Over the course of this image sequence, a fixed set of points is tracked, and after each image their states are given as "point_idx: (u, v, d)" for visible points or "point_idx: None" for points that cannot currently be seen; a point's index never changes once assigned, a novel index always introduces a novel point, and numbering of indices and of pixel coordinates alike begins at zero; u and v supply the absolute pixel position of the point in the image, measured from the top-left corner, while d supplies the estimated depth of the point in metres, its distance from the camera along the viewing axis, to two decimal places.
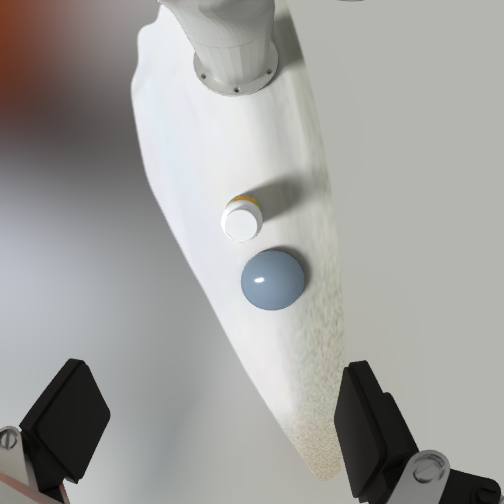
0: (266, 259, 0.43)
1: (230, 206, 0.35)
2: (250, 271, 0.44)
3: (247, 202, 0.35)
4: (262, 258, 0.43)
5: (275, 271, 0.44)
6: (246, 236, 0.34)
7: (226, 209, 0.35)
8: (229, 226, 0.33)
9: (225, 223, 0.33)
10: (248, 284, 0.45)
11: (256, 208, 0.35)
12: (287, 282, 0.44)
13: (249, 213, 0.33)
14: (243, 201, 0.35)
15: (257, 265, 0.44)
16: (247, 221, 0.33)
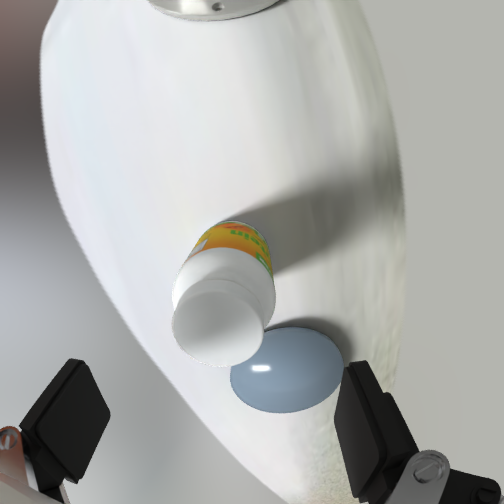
0: (278, 345, 0.21)
1: (191, 268, 0.13)
2: (247, 363, 0.22)
3: (236, 257, 0.13)
4: (270, 344, 0.21)
5: (294, 362, 0.22)
6: (233, 356, 0.12)
7: (182, 274, 0.13)
8: (186, 332, 0.12)
9: (174, 324, 0.11)
10: (243, 382, 0.23)
11: (260, 272, 0.13)
12: (314, 377, 0.23)
13: (240, 301, 0.11)
14: (225, 254, 0.13)
15: (260, 355, 0.22)
16: (236, 322, 0.11)
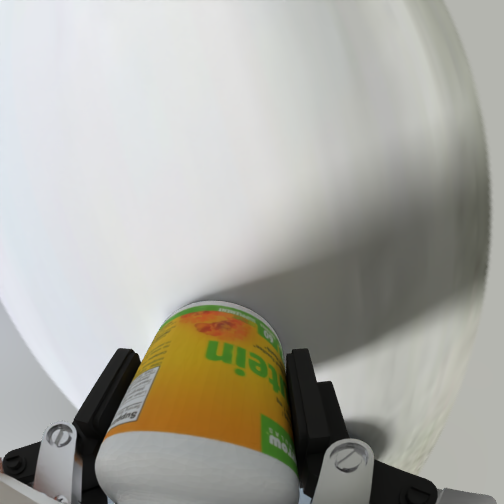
0: None
1: (114, 471, 0.04)
2: None
3: (212, 471, 0.04)
4: None
5: None
6: None
7: (101, 470, 0.04)
8: None
9: None
10: None
11: (271, 489, 0.04)
12: None
13: None
14: (185, 463, 0.04)
15: None
16: None
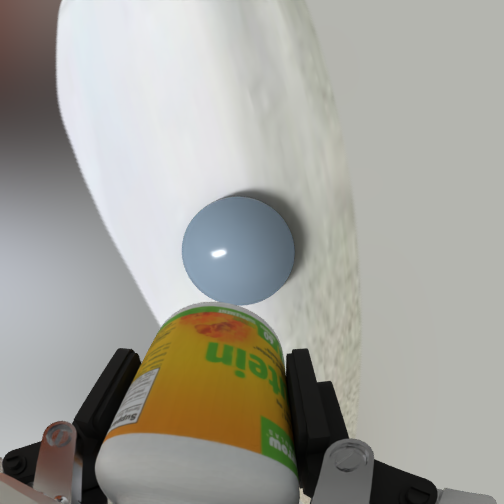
0: (224, 210, 0.24)
1: (114, 473, 0.04)
2: (197, 233, 0.24)
3: (212, 473, 0.04)
4: (216, 209, 0.24)
5: (241, 233, 0.24)
6: None
7: (101, 472, 0.04)
8: None
9: None
10: (194, 258, 0.25)
11: (271, 491, 0.04)
12: (264, 254, 0.25)
13: None
14: (185, 466, 0.04)
15: (208, 222, 0.24)
16: None
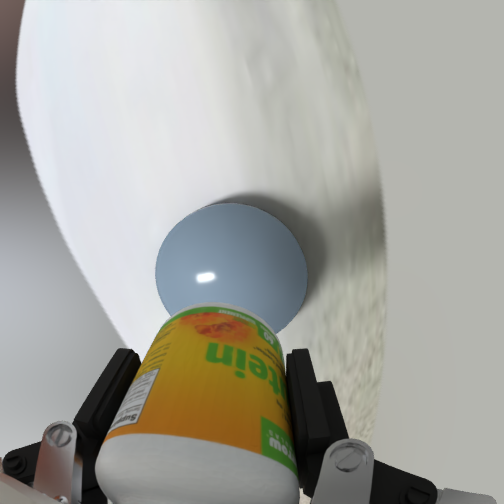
0: (211, 223, 0.17)
1: (114, 473, 0.04)
2: (174, 254, 0.18)
3: (212, 473, 0.04)
4: (200, 221, 0.17)
5: (235, 254, 0.18)
6: None
7: (101, 472, 0.04)
8: None
9: None
10: (172, 286, 0.18)
11: (271, 491, 0.04)
12: (266, 282, 0.18)
13: None
14: (185, 466, 0.04)
15: (189, 239, 0.17)
16: None
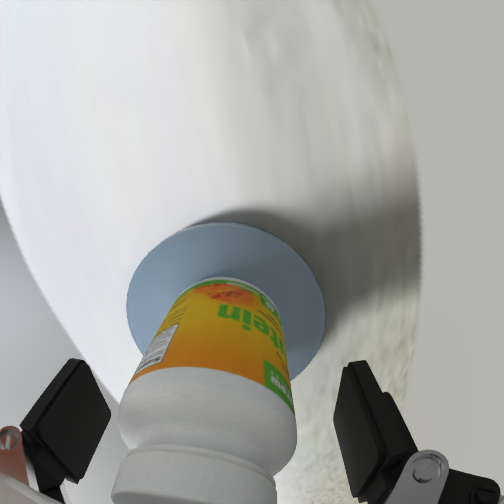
0: (195, 251, 0.12)
1: (139, 405, 0.06)
2: (149, 291, 0.13)
3: (225, 396, 0.06)
4: (180, 249, 0.12)
5: None
6: None
7: (126, 409, 0.06)
8: None
9: (117, 503, 0.04)
10: (149, 330, 0.13)
11: (273, 419, 0.06)
12: None
13: None
14: (203, 389, 0.06)
15: (167, 273, 0.13)
16: None
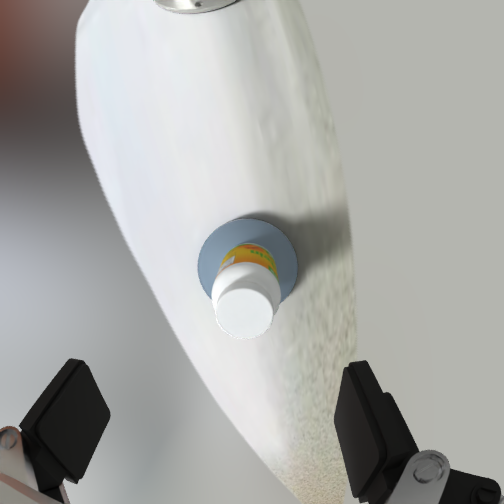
0: (236, 231, 0.27)
1: (227, 274, 0.21)
2: (212, 250, 0.28)
3: (256, 268, 0.21)
4: (229, 230, 0.27)
5: None
6: (253, 331, 0.19)
7: (220, 279, 0.21)
8: (224, 314, 0.19)
9: (217, 309, 0.19)
10: (209, 272, 0.28)
11: (271, 279, 0.21)
12: None
13: (260, 295, 0.18)
14: (249, 266, 0.21)
15: (222, 241, 0.27)
16: (256, 308, 0.19)
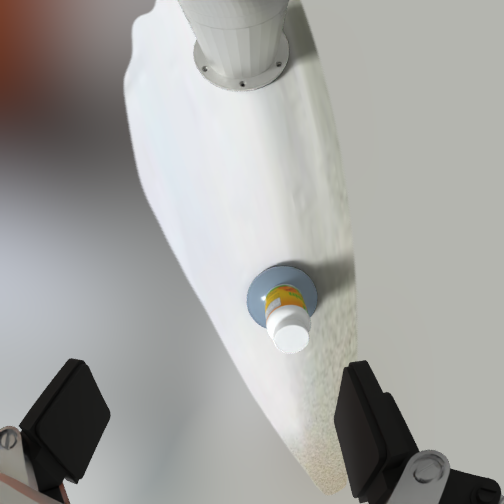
0: (276, 276, 0.38)
1: (279, 314, 0.32)
2: (257, 289, 0.39)
3: (297, 309, 0.32)
4: (271, 275, 0.38)
5: None
6: (296, 348, 0.30)
7: (274, 316, 0.32)
8: (279, 340, 0.30)
9: (275, 337, 0.30)
10: (255, 303, 0.40)
11: (306, 315, 0.32)
12: None
13: (302, 328, 0.30)
14: (293, 308, 0.32)
15: (265, 282, 0.39)
16: (299, 335, 0.30)
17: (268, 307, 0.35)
